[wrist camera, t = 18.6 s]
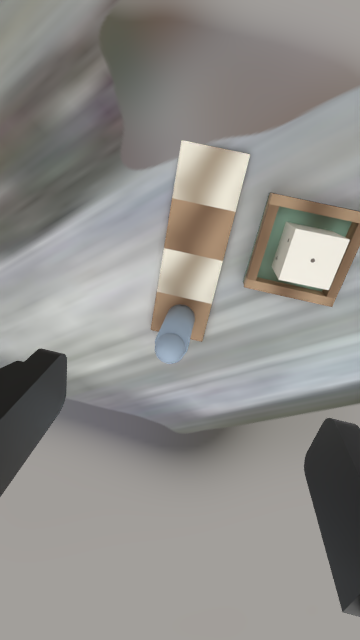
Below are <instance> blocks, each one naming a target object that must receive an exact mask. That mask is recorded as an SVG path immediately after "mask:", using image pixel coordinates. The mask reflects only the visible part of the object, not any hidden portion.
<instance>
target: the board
mask: <svg viewBox="0 0 360 640" xmlns="http://www.w3.org/2000/svg"><path fill="white" fill-rule="evenodd" d="M249 157H250V154H246V153H241V152H236V151H231V150H226V149H222V148H217V147H212V146H207V145H202V144H197V143H193V142H188V141H183V140H182V142H181V148H180V154H179V160H178V166H177V172H176V178H175V184H174V190H173V196H172V202H171V209H170V215H169V221H168V227H167V233H166V239H165V245H164V251H163V257H162V263H161V269H160V275H159V281H158V288H157V294H156V300H155V306H154V312H153V318H152V324H151V330H154V331H158V332H159V330H160V328H161V326H162V324H163V322H164V320H165V317H166V315H167V313H168V311H169V309H170V308H171V307H173V306H175V305H179V304H181V305H186V306H188V307H189V308H190V309H191V310H192V311H193V312H194V315H195V321H194V325H193V329H192V334H191V338H190V339H193V340H197V341H201V342H202V340H203V336H204V333H205V329H206V325H207V321H208V317H209V313H210V309H211V305H212V301H213V298H214V294H215V290H216V286H217V282H218V278H219V274H220V270H221V266H222V262H223V259H224V255H225V251H226V247H227V243H228V239H229V235H230V231H231V227H232V224H233V220H234V216H235V212H236V208H237V204H238V200H239V196H240V192H241V188H242V185H243V181H244V177H245V173H246V169H247V165H248V161H249Z"/></svg>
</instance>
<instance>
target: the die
mask: <svg viewBox="0 0 360 640" xmlns="http://www.w3.org/2000/svg"><path fill="white" fill-rule="evenodd" d="M349 241H350V239H348V238H346V237H343V236H341V235H339V234H337V233H335V232H333V231H329V230H324V229H319V228H314V227H309V226H304V225H299V224H294V223H290V222H286V223H285V226H284V229H283V232H282V235H281V238H280V241H279V245H278V248H277V251H276V254H275V257H274V260H273V263H272V266H271V267H272V268H273V270H274V272H275V274H276V276H277V278H278V280H282V281H287V282H292V283H297V284H301V285H306V286H311V287H315V288H320V289H325V290H329V288H330V286H331V284H332V281H333V279H334V276H335V274H336V272H337V269H338V267H339V265H340V262H341V260H342V258H343V255H344V253H345V251H346V248H347V246H348V243H349Z"/></svg>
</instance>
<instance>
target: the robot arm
mask: <svg viewBox="0 0 360 640" xmlns="http://www.w3.org/2000/svg"><path fill="white" fill-rule="evenodd" d="M66 380H67V357H66V355H65V354H62V353H58V352H53V351H49V350H45V349H38V350H37V351H36V352H35V353H33V354H32V355H31V356H30V357H29V358H28V359H27V360H26V361H25V362H22V361H16V362H13V363H11V364H9V365H7V366H5V367H2V368H0V496H1V495H2V494H3V492H4V491H5V489H6V488H7V486H8V485H9V484H10V482H11V481H12V479H13V478H14V477H15V475H16V474H17V472H18V471H19V470H20V468H21V467H22V465H23V464H24V462H25V461H26V460H27V458H28V457H29V455H30V454H31V452H32V451H33V450H34V448H35V447H36V445H37V444H38V443H39V441H40V440H41V438H42V437H43V435H44V434H45V433H46V431H47V430H48V428H49V427H50V425H51V424H52V423H53V421H54V420H55V418H56V417H57V415H58V414H59V413H60V411H61V409H62V407H63V404H64V401H65V397H66ZM304 471H305V476H306V480H307V484H308V487H309V491H310V495H311V498H312V501H313V506H314V509H315V513H316V516H317V520H318V524H319V528H320V531H321V535H322V538H323V542H324V545H325V549H326V553H327V557H328V560H329V564H330V568H331V571H332V575H333V579H334V582H335V586H336V590H337V593H338V597H339V601H340V604H341V608H342V611H343V612H344V613H347V614H351V615H355V616H359V617H360V428H359V427H358V426H357V425H355V424H352V423H348V422H344V421H339V420H336V419H331V418H327V419H326V420H325V421H324V422H323V424H322V425H321V427H320V429H319V431H318V433H317V435H316V437H315V438H314V440H313V442H312V444H311V446H310V448H309V450H308V451H307V454H306V457H305V464H304Z"/></svg>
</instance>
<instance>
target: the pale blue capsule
mask: <svg viewBox="0 0 360 640" xmlns="http://www.w3.org/2000/svg"><path fill="white" fill-rule="evenodd" d="M194 321H195V315H194V312H193V311H192V310H191V309H190V308H189V307H188V306H186V305H181V304H179V305H175V306H173V307H171V308H170V309H169V311H168V313H167V315H166V317H165V320H164V322H163V324H162V326H161V328H160V330H159V333H158V335H157V337H156V340H155V352H156V355H157V357H158V358H159V359H160V360H161V361H162V362H164V363H168V364H173V363H176V362H178V361H179V360H181V359H182V357H183V356H184V354H185V353H186V352H187V350H188V346H189V342H190V338H191V334H192V329H193V325H194Z"/></svg>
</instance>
